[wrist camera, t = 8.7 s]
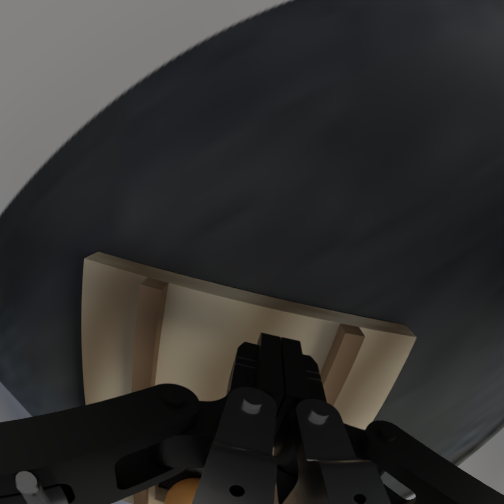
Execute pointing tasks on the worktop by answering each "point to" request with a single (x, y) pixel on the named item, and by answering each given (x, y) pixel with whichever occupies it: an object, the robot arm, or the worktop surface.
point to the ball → (182, 492)
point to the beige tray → (221, 340)
